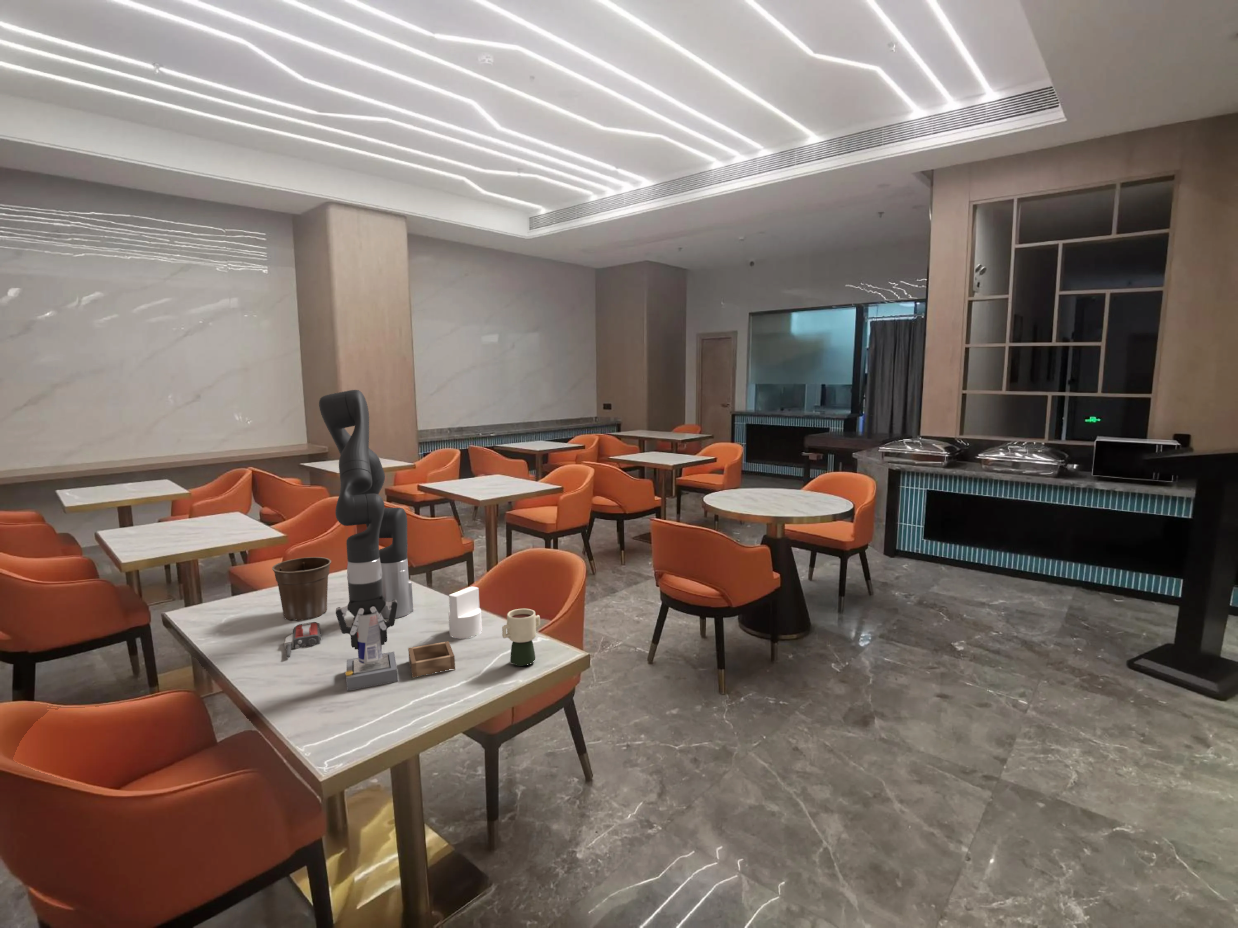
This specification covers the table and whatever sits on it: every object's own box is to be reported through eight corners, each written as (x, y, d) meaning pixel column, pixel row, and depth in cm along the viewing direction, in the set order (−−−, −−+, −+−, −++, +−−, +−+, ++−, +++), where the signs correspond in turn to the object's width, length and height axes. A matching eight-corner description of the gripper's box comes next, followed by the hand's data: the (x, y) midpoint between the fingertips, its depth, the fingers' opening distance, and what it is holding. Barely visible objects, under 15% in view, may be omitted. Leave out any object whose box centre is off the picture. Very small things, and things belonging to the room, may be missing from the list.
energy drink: (362, 655, 151) (359, 608, 150) (385, 654, 152) (382, 607, 150) (355, 665, 146) (351, 616, 144) (378, 663, 146) (375, 615, 145)
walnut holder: (449, 653, 161) (448, 641, 161) (455, 669, 152) (454, 655, 152) (409, 661, 157) (408, 647, 157) (412, 677, 148) (411, 663, 148)
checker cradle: (394, 662, 156) (394, 649, 156) (397, 681, 146) (396, 666, 146) (346, 671, 152) (345, 657, 152) (346, 690, 142) (345, 675, 142)
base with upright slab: (465, 640, 169) (463, 598, 168) (442, 634, 174) (440, 593, 173) (488, 629, 177) (487, 589, 176) (466, 623, 182) (464, 584, 180)
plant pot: (343, 612, 193) (340, 562, 191) (289, 628, 181) (284, 574, 179) (321, 601, 203) (317, 553, 202) (268, 615, 191) (263, 564, 190)
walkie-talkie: (286, 635, 176) (283, 662, 159) (285, 620, 176) (282, 646, 158) (320, 629, 180) (321, 655, 162) (319, 615, 180) (320, 639, 162)
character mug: (533, 652, 161) (531, 604, 160) (549, 661, 156) (547, 611, 154) (496, 665, 154) (494, 615, 152) (511, 674, 149) (509, 622, 147)
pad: (388, 659, 154) (387, 653, 154) (389, 672, 147) (389, 666, 147) (354, 665, 151) (353, 659, 151) (354, 678, 144) (353, 672, 144)
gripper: (396, 569, 152) (400, 635, 155) (332, 577, 147) (337, 645, 149) (398, 577, 146) (402, 646, 148) (331, 586, 140) (336, 657, 142)
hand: (369, 645), depth 148 cm, fingers closed on energy drink, 5 cm apart
